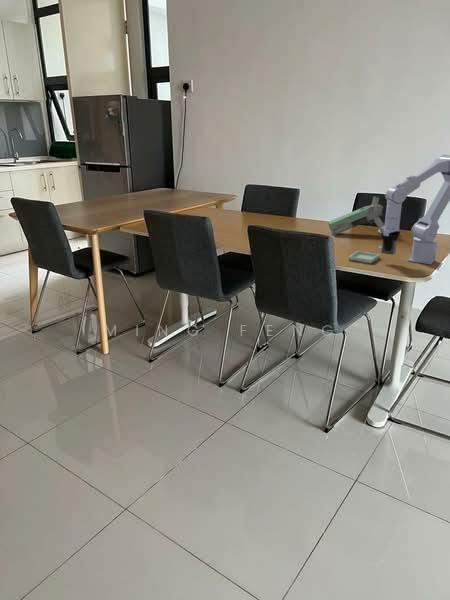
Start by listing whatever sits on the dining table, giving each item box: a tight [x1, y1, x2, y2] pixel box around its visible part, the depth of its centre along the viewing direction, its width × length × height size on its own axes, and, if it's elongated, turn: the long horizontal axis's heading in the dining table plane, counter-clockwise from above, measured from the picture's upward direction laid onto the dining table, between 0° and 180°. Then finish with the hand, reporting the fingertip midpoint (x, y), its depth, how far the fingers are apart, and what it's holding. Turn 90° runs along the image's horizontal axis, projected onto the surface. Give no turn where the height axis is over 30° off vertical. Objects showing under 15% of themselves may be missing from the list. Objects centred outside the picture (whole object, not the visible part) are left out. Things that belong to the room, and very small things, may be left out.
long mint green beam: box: [327, 196, 386, 236], centre depth 240 cm, size 7×32×20 cm, turn 91°
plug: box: [377, 239, 398, 256], centre depth 190 cm, size 7×3×6 cm, turn 55°
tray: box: [348, 250, 381, 265], centre depth 197 cm, size 10×11×2 cm
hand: (389, 249), depth 190 cm, fingers closed on plug, 3 cm apart
